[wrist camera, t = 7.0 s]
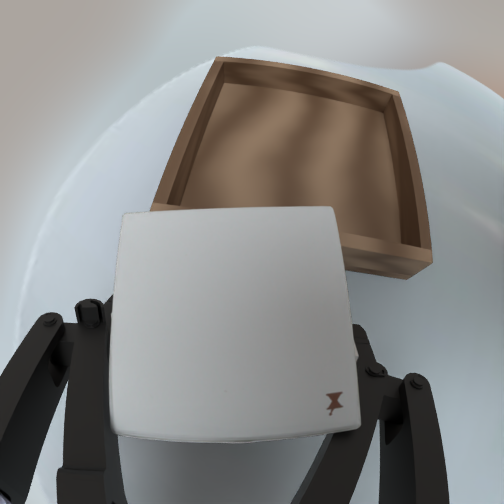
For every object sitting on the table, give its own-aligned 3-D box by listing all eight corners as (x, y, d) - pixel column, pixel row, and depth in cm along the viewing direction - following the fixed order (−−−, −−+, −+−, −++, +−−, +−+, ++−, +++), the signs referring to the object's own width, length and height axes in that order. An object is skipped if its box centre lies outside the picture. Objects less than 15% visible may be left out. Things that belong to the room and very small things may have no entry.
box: (386, 115, 30) (398, 91, 26) (406, 279, 22) (432, 262, 18) (217, 84, 30) (216, 56, 26) (161, 240, 22) (148, 215, 19)
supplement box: (287, 295, 21) (342, 201, 10) (292, 398, 18) (367, 435, 7) (183, 297, 21) (120, 205, 9) (184, 401, 18) (106, 440, 6)
